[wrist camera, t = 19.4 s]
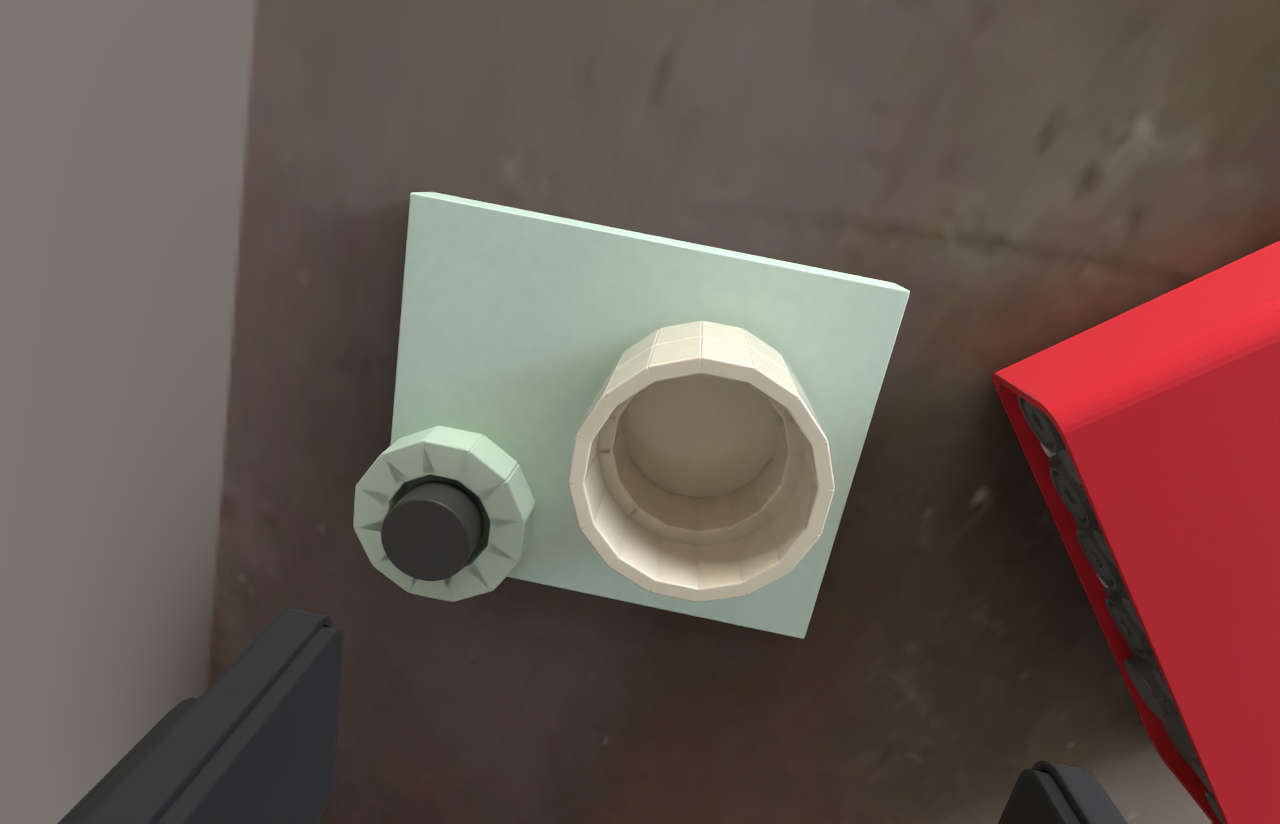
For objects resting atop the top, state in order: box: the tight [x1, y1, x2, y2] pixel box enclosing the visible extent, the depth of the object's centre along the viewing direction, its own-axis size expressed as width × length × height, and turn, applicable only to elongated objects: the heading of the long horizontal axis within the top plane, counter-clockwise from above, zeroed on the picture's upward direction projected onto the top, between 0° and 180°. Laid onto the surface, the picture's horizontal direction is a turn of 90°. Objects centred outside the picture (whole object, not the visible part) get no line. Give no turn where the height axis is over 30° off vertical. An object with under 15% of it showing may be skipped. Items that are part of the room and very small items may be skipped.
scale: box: [353, 192, 910, 639], centre depth 25 cm, size 16×13×4 cm
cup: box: [568, 321, 835, 602], centre depth 21 cm, size 7×7×6 cm
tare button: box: [381, 481, 484, 581], centre depth 24 cm, size 3×3×2 cm
